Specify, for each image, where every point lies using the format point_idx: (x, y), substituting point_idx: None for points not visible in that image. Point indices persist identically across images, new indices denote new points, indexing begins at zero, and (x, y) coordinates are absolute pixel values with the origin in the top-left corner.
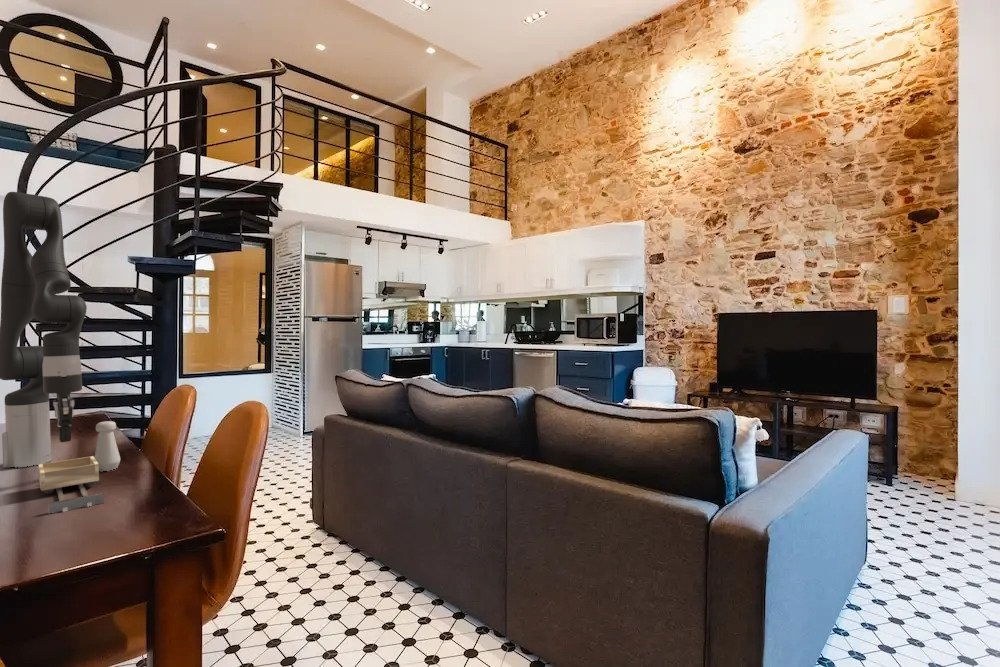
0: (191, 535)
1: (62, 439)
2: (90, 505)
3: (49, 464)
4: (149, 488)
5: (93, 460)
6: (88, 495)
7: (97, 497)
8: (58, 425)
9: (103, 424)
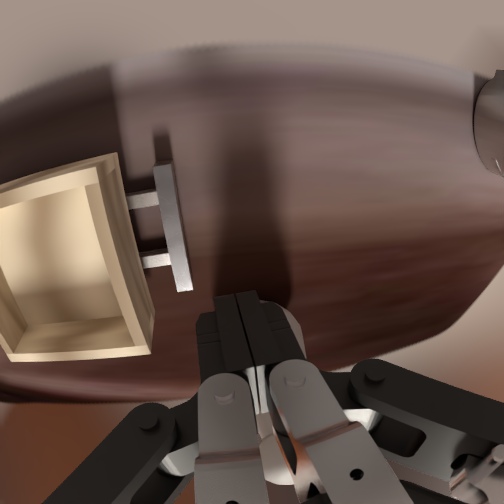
0: None
1: (199, 319)
2: None
3: (93, 210)
4: (7, 381)
5: (63, 354)
6: None
7: None
8: (212, 392)
9: (269, 472)
